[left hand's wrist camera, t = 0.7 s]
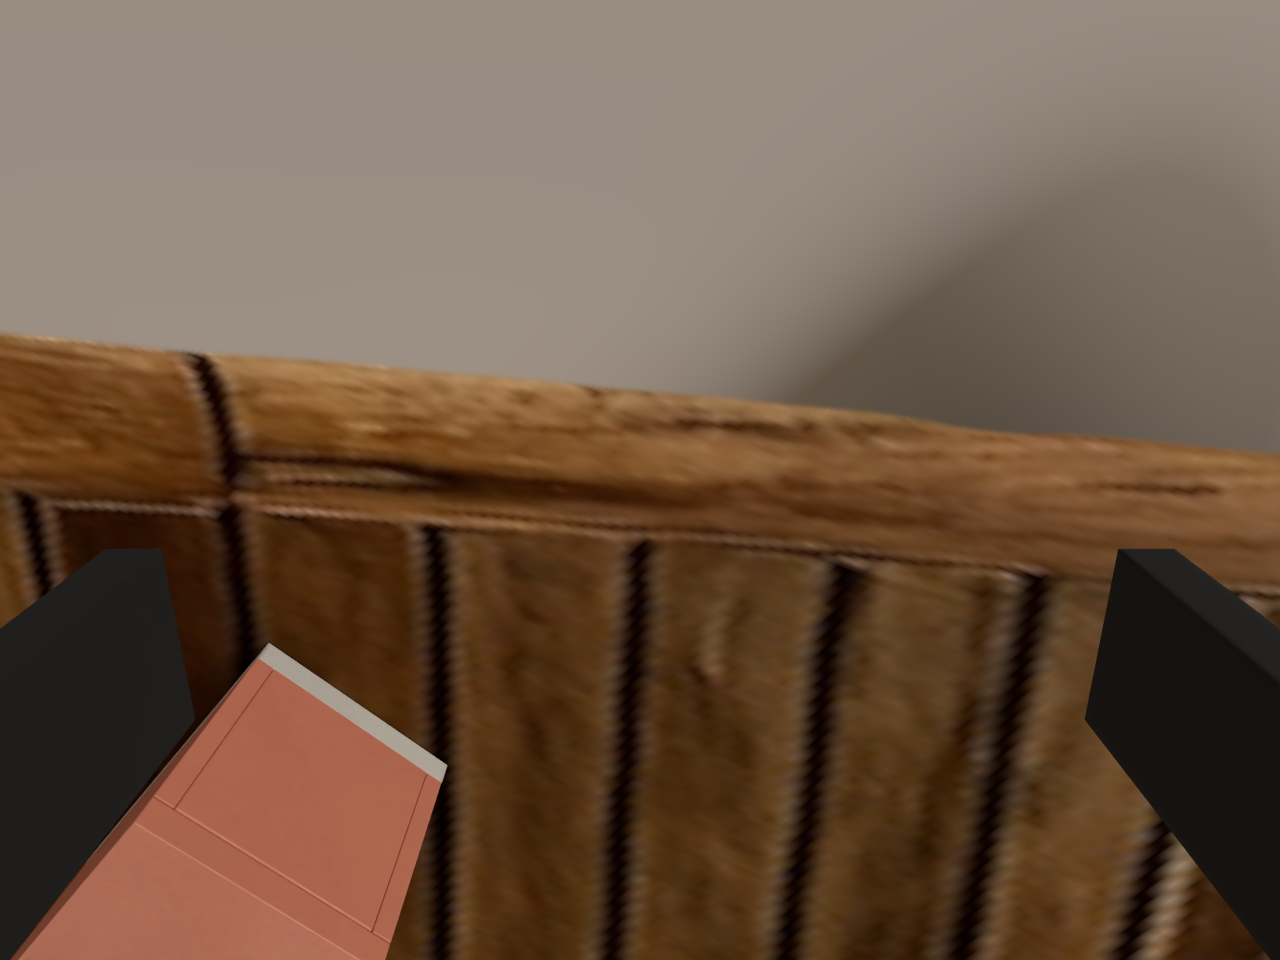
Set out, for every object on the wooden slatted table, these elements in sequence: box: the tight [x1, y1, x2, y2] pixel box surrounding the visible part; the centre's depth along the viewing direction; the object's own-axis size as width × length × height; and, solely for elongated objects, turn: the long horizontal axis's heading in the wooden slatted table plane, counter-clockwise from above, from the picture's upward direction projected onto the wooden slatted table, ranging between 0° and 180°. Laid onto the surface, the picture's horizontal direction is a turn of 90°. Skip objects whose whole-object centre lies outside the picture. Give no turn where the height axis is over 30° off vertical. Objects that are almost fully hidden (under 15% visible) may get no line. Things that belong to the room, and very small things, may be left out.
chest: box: [11, 643, 447, 960], centre depth 38 cm, size 15×10×10 cm
